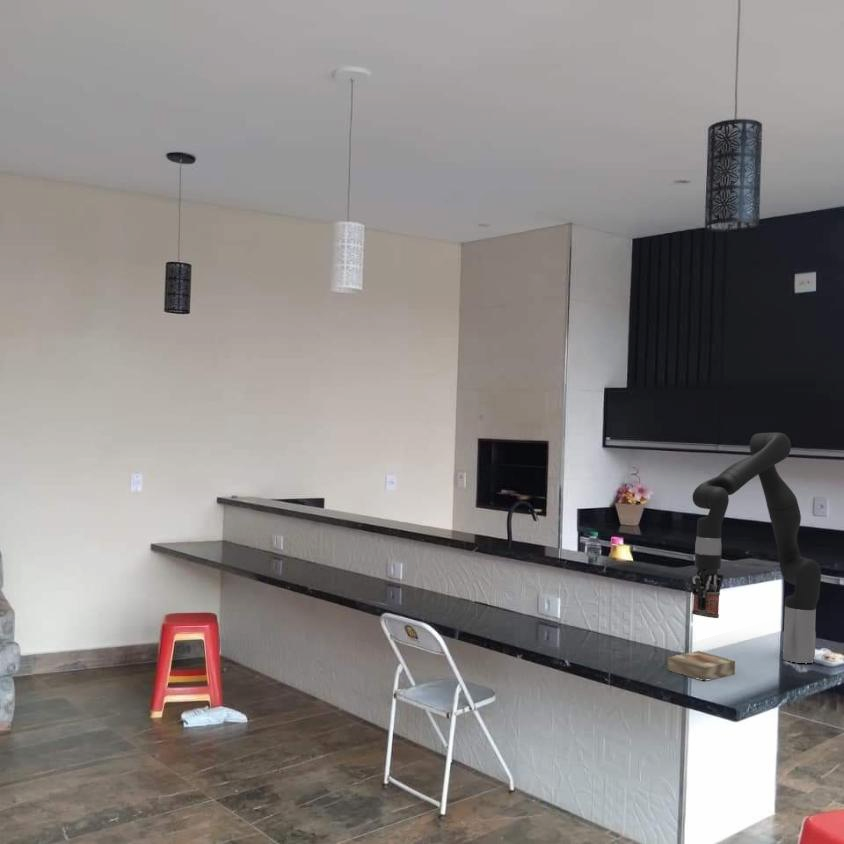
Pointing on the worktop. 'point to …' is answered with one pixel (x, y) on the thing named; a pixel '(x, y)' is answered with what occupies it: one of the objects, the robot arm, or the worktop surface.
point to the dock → (701, 665)
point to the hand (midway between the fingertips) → (705, 608)
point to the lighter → (708, 603)
